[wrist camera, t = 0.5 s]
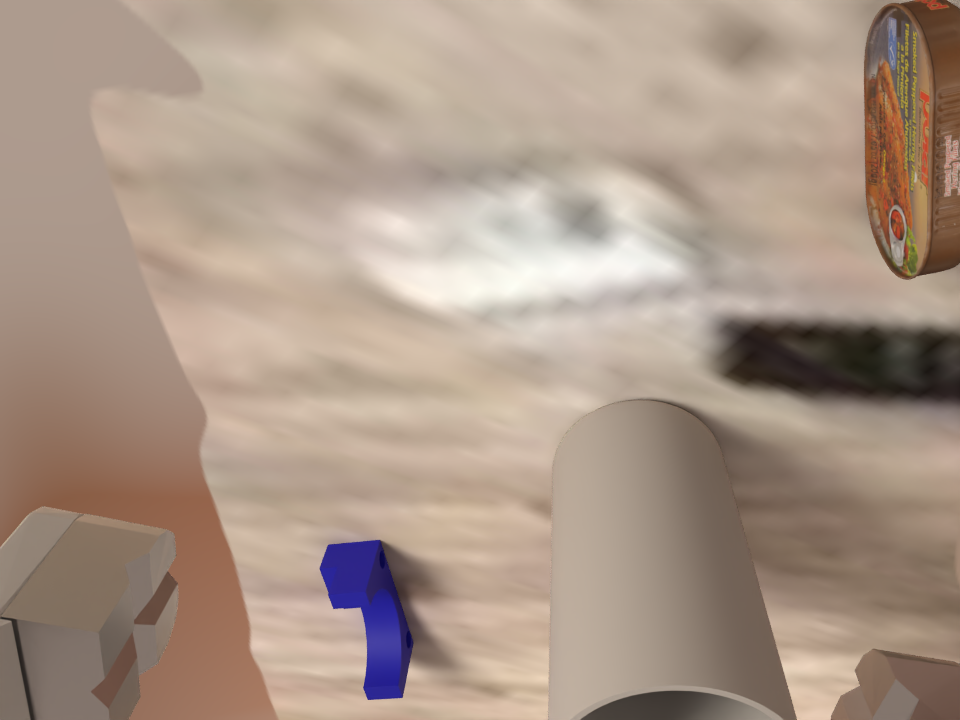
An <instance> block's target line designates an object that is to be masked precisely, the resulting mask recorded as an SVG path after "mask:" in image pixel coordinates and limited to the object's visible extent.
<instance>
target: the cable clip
mask: <svg viewBox="0 0 960 720" xmlns="http://www.w3.org/2000/svg"><path fill="white" fill-rule="evenodd" d="M320 571H321V574H322V576H323V579H324V582H325V584H326V587H327V590H328V592H329V594H328V596H329V598H330V601H331V603H332V606H333V609H338V608H344V609H347V608H360V607H361V610H362V613H363V617H364V622H365V628H366V637H367V668H366V676H365V682H364V687H363V688H364V691H365V693H366V696H367V699H368V700H374V699H391V698H403V693H404V688H405V683H406V678H407V673H408V668H409V663H410V658H411V653H412V648H413V640H412V637H411V634H410V630H409V627H408V624H407V621H406V618H405V615H404V612H403V609H402V606H401V603H400V600H399V597H398V594H397V590H396V587H395V584H394V581H393V578H392V575H391V572H390V569H389V566H388V563H387V560H386V557H385V554H384V550H383V547H382V544H381V541H380V540H374V541H363V542H352V543H341V544H331V545H328V546H327V549H326V552H325V555H324V558H323V560H322V563H321V566H320Z"/></svg>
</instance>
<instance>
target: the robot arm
mask: <svg viewBox="0 0 960 720" xmlns="http://www.w3.org/2000/svg"><path fill="white" fill-rule="evenodd" d="M175 557H176V547H175V538H174V534H173V533H172V532H170V531H169V530H166V529H161V528H156V527H151V526H146V525H141V524H135V523H130V522H124V521H120V520H115V519H110V518H105V517H100V516H95V515H89V514H85V515H84V514H79V513H74V512H69V511H64V510H59V509H54V508H49V507H44V506H43V507H41V508H39V509H37V510H35V511H33V512H31V513H30V514H29V515H28V516H27V517H26V518H25V519H24V520H23V521H22V523H21V524H20V525H19V526H18V528H17V529H16V530H15V531H14V532H13V533H12V534H11V535H10V537H9V538H8V539H7V540H6V541H5V542H4V544H3V545H2V546H1V547H0V720H128V719H129V717H130V716H131V714H132V712H133V710H134V708H135V706H136V704H137V702H138V700H139V699H140V685H139V675H141V674H142V673H144V672H146V671H147V670H149V669H150V668H152V667H153V666H155V665H157V664H158V662H159V660H160V658H161V656H162V654H163V652H164V650H165V648H166V646H167V644H168V642H169V638H170V635H171V632H172V629H173V625H174V622H175V619H176V613H177V606H178V583H177V582H176V581H175V580H174V578H173V577H172V576H171V575H170V574H169V572H168V569H169V567H170V565H171V564H172V562H173V560H174V558H175ZM855 673H856V675H857V678H858V681H859V684H860V686H859V687H857V688H855V689H853V690H851V691H849V692H847V693H845V694H844V695H842V696H840V699H839V701H838V703H837V705H836V707H835V709H834V711H833V713H832V715H831V720H960V663H956V662H953V661H946V660H940V659H934V658H927V657H921V656H915V655H909V654H902V653H896V652H890V651H884V650H877V649H872V650H871V651H869V652H868V653H866V654H865V655H863V657H862V659H861V660H860V662H859V664H858V666H857V667H856V669H855Z"/></svg>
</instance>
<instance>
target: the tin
mask: <svg viewBox="0 0 960 720" xmlns="http://www.w3.org/2000/svg"><path fill="white" fill-rule="evenodd" d="M864 99H865V169H866V200H867V208H868V214H869V219H870V224H871V228H872V232H873V236H874V238H875V241H876V244H877V246H878V248H879V251H880V253H881V255H882V257H883V259H884V260H885V262H886V264H887V266H888V267H889V268H890V270H891V271H892V272H893V273H894V274H895V275H896V276H898V277H900V278H902V279H906V280H909V279H913V278H915V277H916V276H920V275H926V274H931V273H936V272H941V271H944V270H948V269H951V268H953V267H955V266H957V265H958V264H959V263H960V9H959V8H958V7H957V6H955V5H954V4H952V3H950V2H948V1H947V0H914V1H910V2H906V3H901V4H899V3H891V4H888V5H886V6H884V7H883V8H882V9H881V10H880V11H879V12H878V14H877V15H876V16H875V18H874V20H873V23H872V25H871V27H870V30H869V33H868V37H867V43H866V49H865V61H864Z"/></svg>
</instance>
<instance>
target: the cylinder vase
mask: <svg viewBox="0 0 960 720" xmlns="http://www.w3.org/2000/svg"><path fill="white" fill-rule="evenodd" d="M548 720H797V718H796V714H795V711H794V707H793V704H792V700H791V696H790V693H789V689H788V686H787V682H786V679H785V675H784V672H783V668H782V664H781V661H780V657H779V654H778V650H777V647H776V643H775V640H774V636H773V632H772V629H771V625H770V622H769V618H768V615H767V611H766V608H765V604H764V600H763V597H762V593H761V590H760V586H759V583H758V579H757V575H756V572H755V568H754V565H753V561H752V558H751V554H750V551H749V547H748V543H747V540H746V536H745V533H744V529H743V526H742V522H741V519H740V515H739V511H738V508H737V504H736V501H735V497H734V494H733V490H732V487H731V483H730V479H729V476H728V472H727V469H726V465H725V462H724V458H723V454H722V451H721V448H720V446H719V444H718V442H717V440H716V438H715V437H714V435H713V434H712V432H711V431H710V430H709V429H708V428H707V426H706V425H705V424H704V423H702V422H701V421H700V420H699V419H698V418H696V417H695V416H693V415H692V414H690V413H689V412H687V411H685V410H683V409H681V408H679V407H676V406H673V405H670V404H667V403H663V402H658V401H651V400H629V401H622V402H617V403H613V404H609V405H606V406H604V407H601V408H599V409H597V410H595V411H593V412H591V413H589V414H588V415H586V416H584V417H583V418H582V419H580V420H579V421H578V422H577V423H575V424H574V425H573V426H572V427H571V428H570V430H569V431H568V432H567V433H566V434H565V436H564V437H563V439H562V440H561V442H560V444H559V446H558V448H557V451H556V454H555V457H554V461H553V473H552V530H551V588H550V645H549V702H548Z"/></svg>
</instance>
